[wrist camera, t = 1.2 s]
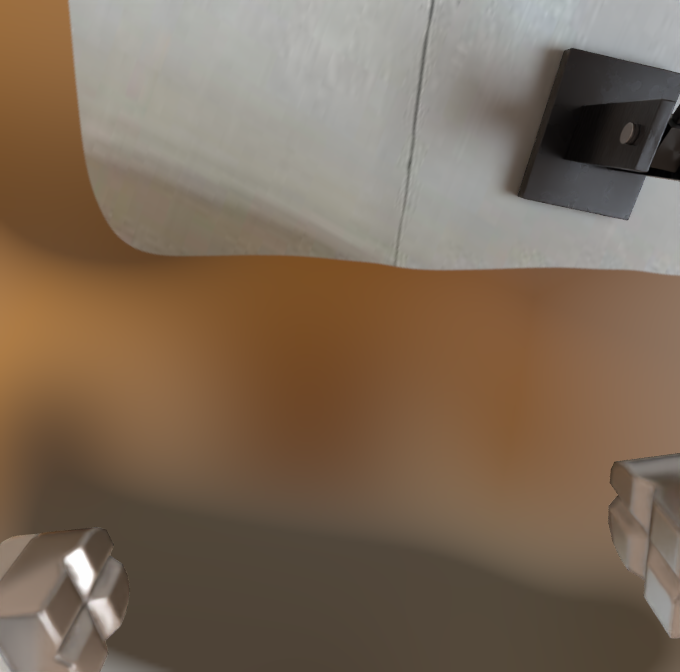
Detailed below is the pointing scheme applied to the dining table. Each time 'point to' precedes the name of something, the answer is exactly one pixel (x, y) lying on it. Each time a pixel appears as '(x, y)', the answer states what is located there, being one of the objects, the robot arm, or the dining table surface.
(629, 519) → the robot arm
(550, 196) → the bracket
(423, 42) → the dining table surface
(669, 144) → the lever
